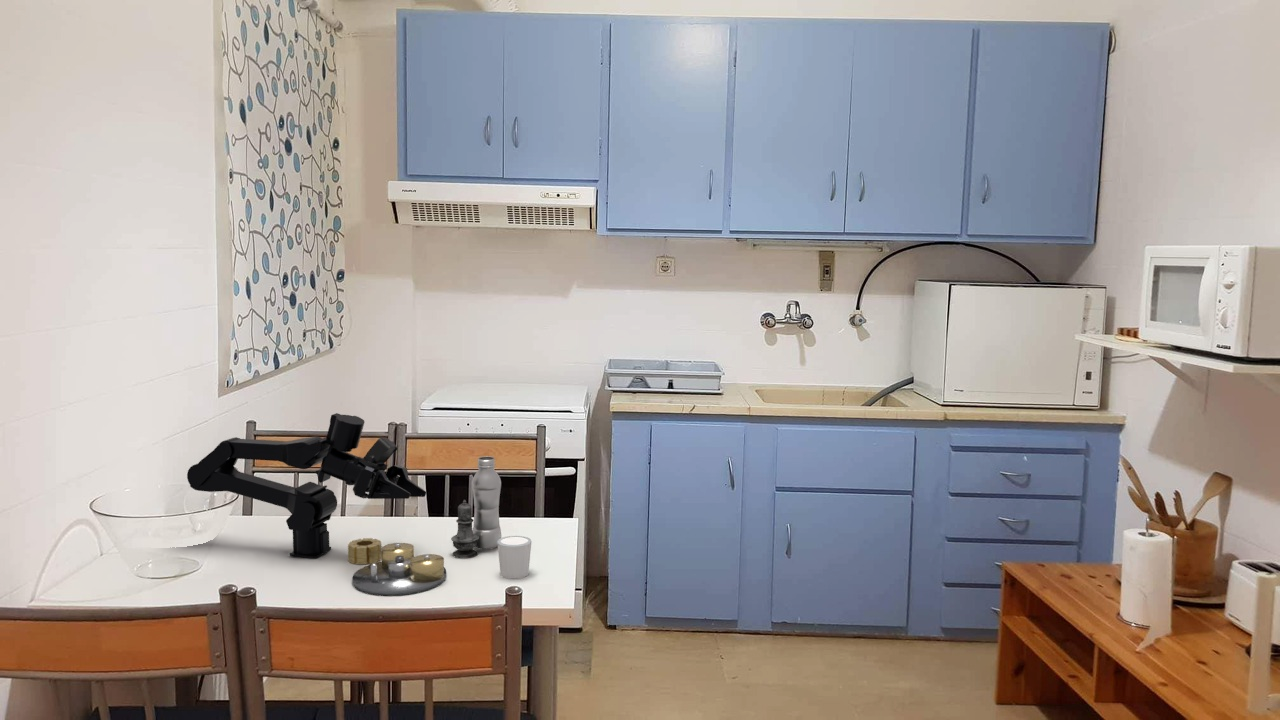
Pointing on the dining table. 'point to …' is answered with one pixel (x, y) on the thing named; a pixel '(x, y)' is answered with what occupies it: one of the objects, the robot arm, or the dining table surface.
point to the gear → (364, 551)
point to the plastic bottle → (486, 504)
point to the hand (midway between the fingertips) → (417, 495)
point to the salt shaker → (465, 533)
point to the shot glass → (514, 556)
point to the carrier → (400, 572)
